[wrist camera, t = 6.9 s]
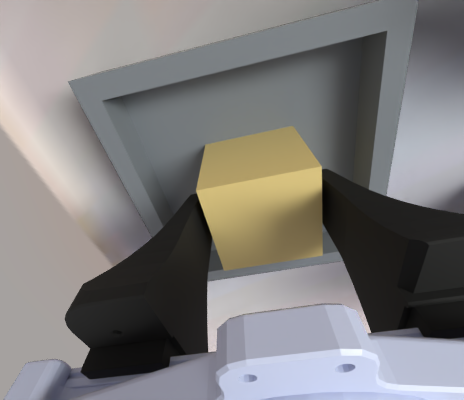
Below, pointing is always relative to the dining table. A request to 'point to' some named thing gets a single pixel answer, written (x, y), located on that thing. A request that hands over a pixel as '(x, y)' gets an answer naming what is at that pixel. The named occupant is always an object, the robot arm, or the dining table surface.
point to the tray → (258, 107)
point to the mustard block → (262, 198)
